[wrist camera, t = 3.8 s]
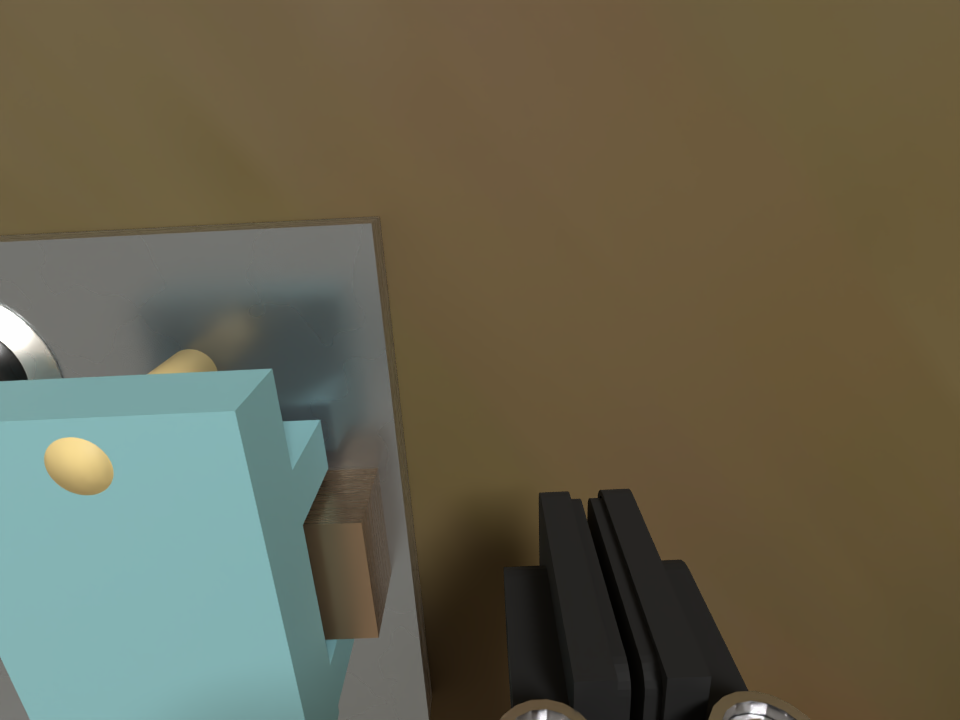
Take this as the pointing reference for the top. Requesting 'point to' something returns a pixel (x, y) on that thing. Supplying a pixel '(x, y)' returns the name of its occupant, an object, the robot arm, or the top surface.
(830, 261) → the top surface
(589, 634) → the robot arm
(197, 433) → the teal rail module
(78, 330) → the bolt plate
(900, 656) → the top surface
